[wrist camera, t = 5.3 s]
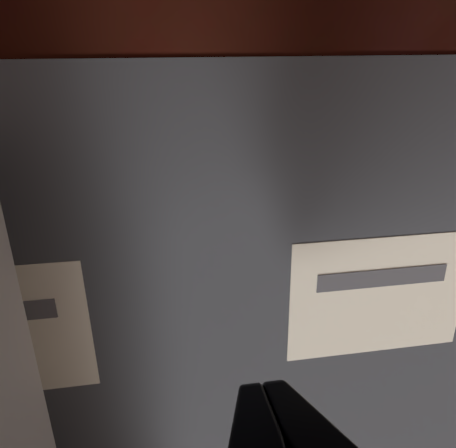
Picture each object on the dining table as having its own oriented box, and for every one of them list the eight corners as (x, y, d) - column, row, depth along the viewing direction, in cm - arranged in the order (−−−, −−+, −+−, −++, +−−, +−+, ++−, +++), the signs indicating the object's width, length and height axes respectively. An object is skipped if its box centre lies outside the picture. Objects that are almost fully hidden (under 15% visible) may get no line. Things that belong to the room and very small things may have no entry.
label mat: (601, 53, 9) (613, 52, 9) (479, 474, 14) (484, 480, 14) (-415, 63, 7) (-436, 63, 6) (-136, 578, 12) (-142, 588, 11)
